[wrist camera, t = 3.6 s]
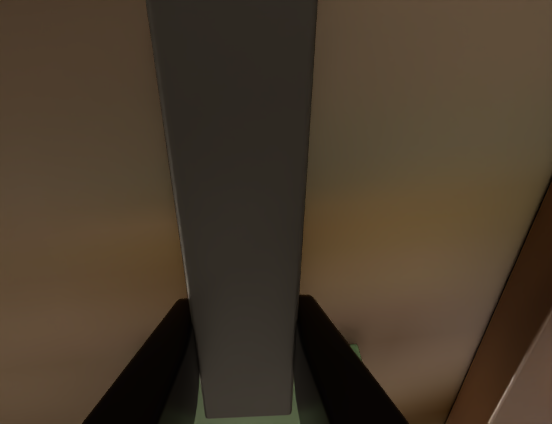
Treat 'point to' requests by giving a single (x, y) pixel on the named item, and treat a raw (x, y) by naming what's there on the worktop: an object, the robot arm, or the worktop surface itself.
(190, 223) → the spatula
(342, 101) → the worktop surface
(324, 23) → the worktop surface
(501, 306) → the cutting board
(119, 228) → the worktop surface
